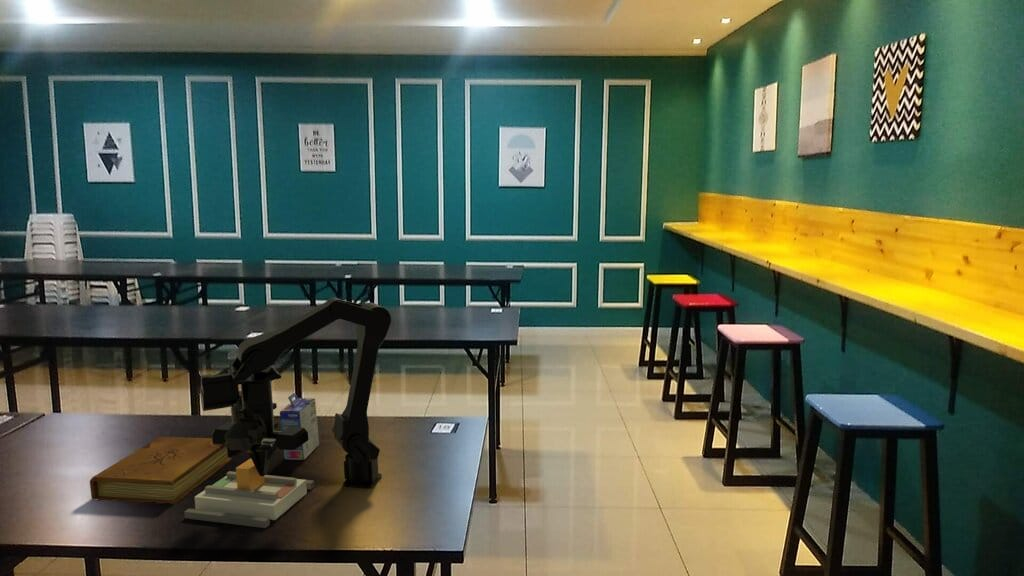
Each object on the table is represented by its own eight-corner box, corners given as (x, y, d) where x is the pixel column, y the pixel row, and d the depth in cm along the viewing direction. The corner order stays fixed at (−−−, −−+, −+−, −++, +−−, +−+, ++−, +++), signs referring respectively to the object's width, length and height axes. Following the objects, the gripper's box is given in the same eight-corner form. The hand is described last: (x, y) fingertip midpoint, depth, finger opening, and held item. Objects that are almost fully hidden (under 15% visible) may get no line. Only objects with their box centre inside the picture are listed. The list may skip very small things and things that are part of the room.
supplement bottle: (232, 435, 184) (228, 390, 182) (260, 430, 187) (256, 387, 185) (234, 444, 178) (230, 398, 176) (262, 439, 181) (259, 394, 179)
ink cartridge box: (298, 444, 177) (294, 388, 175) (319, 444, 177) (316, 389, 174) (282, 460, 168) (277, 401, 165) (304, 460, 167) (300, 401, 165)
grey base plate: (314, 486, 153) (314, 480, 153) (265, 528, 135) (265, 521, 135) (241, 479, 157) (241, 473, 157) (184, 518, 140) (184, 511, 139)
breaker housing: (306, 493, 150) (305, 474, 149) (275, 520, 138) (273, 500, 138) (232, 485, 154) (231, 467, 153) (195, 510, 143) (194, 491, 142)
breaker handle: (264, 482, 148) (263, 459, 147) (250, 492, 143) (248, 469, 142) (252, 480, 148) (250, 458, 148) (237, 491, 144) (235, 468, 143)
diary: (159, 459, 171) (157, 436, 170) (232, 462, 168) (230, 439, 168) (91, 502, 148) (89, 475, 147) (174, 506, 146) (172, 479, 145)
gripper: (190, 412, 136) (197, 488, 139) (276, 418, 132) (282, 497, 135) (226, 394, 147) (232, 465, 150) (307, 400, 143) (311, 473, 145)
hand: (262, 475), depth 145 cm, fingers closed
